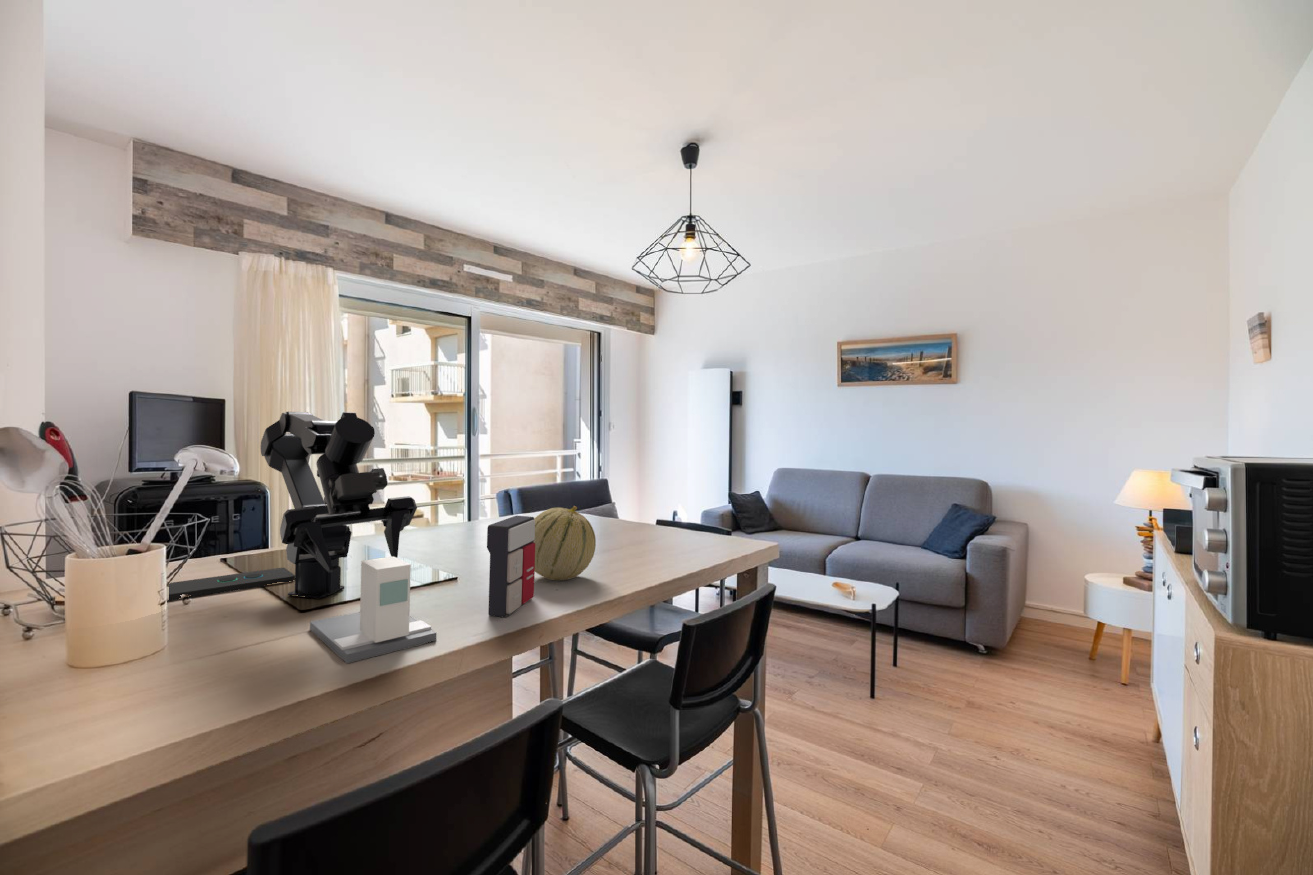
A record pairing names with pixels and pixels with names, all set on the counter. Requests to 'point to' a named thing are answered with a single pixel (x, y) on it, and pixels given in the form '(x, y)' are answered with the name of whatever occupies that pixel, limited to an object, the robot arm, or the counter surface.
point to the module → (385, 598)
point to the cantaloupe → (562, 543)
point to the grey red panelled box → (511, 564)
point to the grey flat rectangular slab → (365, 637)
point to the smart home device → (228, 583)
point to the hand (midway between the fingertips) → (364, 564)
